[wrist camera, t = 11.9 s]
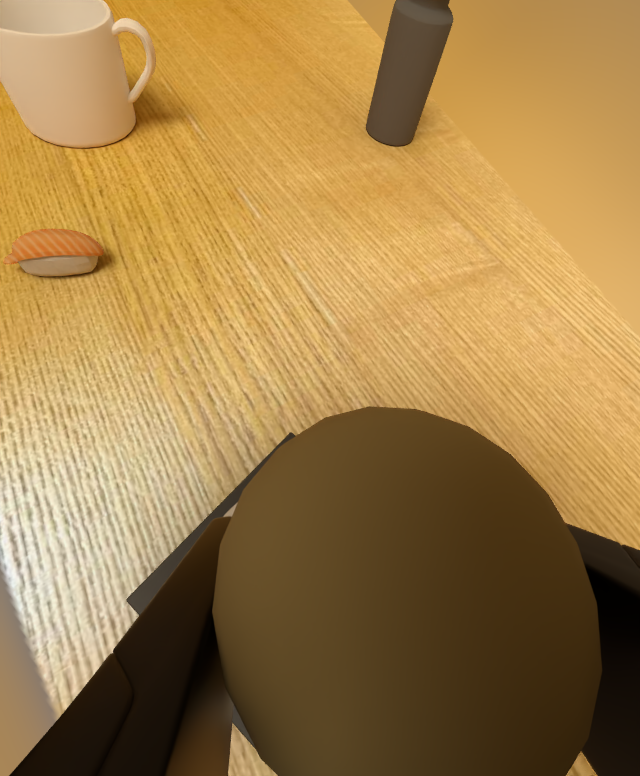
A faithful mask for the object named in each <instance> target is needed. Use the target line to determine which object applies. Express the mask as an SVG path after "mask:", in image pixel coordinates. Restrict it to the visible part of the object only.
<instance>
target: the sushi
mask: <svg viewBox="0 0 640 776" xmlns="http://www.w3.org/2000/svg"><path fill="white" fill-rule="evenodd" d="M103 253H104V252H103V249H102V247H101V246H100V244H99V243H98V242H97V241H95V240H94V239H93V238H91V237H90V236H88V235H86V234H83V233H80V232H77V231H72V230H65V229H42V230H36V231H32V232H28V233H26V234H24V235H22V236H20V237H19V238H18V239H17V240H16V241H15V242H14V243H13V245H12V253H11V254H9V255H8V256H7V257H5V258H4V264H14V263H18V262H19V264H20V266H21V267H22V268H23V270H24V271H25V272H27V273H29V274H32V275H38V276H66V275H74V274H82V273H87V272H91V271H92V270H93V269H94V268H95V267H96V264H97V261H98V256H100V255H103Z"/></svg>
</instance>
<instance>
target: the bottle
mask: <svg viewBox="0 0 640 776" xmlns="http://www.w3.org/2000/svg"><path fill="white" fill-rule="evenodd" d="M448 4H449V0H396V2H395V4H394V7H393V11H392V15H391V19H390V23H389V27H388V32H387V36H386V41H385V45H384V49H383V53H382V58H381V62H380V66H379V71H378V75H377V80H376V84H375V88H374V93H373V97H372V101H371V106H370V110H369V114H368V119H367V124H366V129H367V132H368V133H369V134H370V135H371V136H372V137H373V138H374V139H376V140H378V141H380V142H382V143H385V144H388V145H394V146H402V145H406V144H409V143H410V142H411V141H412V139H413V137H414V134H415V131H416V129H417V126H418V123H419V120H420V117H421V114H422V111H423V108H424V105H425V103H426V100H427V97H428V94H429V91H430V88H431V85H432V82H433V79H434V76H435V74H436V71H437V67H438V65H439V62H440V59H441V56H442V53H443V50H444V47H445V44H446V41H447V38H448V35H449V32H450V29H451V26H452V23H453V15H452V12H451V10H450V8H449V7H448Z"/></svg>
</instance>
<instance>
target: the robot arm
mask: <svg viewBox="0 0 640 776" xmlns="http://www.w3.org/2000/svg"><path fill="white" fill-rule="evenodd" d="M231 517H232V516H227V517H220V518H215V519H213V520H212V521H211V523H210V524H209V525H208V526H207V528H206V529H205V530H204V532H203V533H202V534H201V536H200V537H199V538H198V540H197V541H196V542H195V544H194V545H193V546H192V547H191V549H190V550H189V551H188V553H187V554H186V555H185V557H184V558H183V559H182V561H181V562H180V563H179V564H178V566H177V567H176V568H175V570H174V571H173V572H172V574H171V575H170V576H169V578H168V579H167V580H166V581H165V583H164V584H163V585H162V587H161V588H160V589H159V591H158V592H157V593H156V595H155V596H154V597H153V599H152V600H151V601H150V602H149V604H148V605H147V606H146V608H145V609H144V610H143V612H142V613H141V614H140V616H139V617H138V618H137V619H136V621H135V622H134V623H133V625H132V626H131V627H130V629H129V630H128V631H127V633H126V634H125V635H124V636H123V638H122V639H121V640H120V642H119V643H118V644H117V646H116V647H115V648H114V650H113V653H111V654H110V655H109V656H108V657H107V658H106V660H105V661H104V662H103V664H102V665H101V666H100V668H99V669H98V670H97V672H96V673H95V674H94V675H93V677H92V678H91V679H90V680H89V682H88V683H87V684H86V686H85V687H84V688H83V689H82V691H81V692H80V693H79V694H78V696H77V697H76V698H75V699H74V701H73V702H72V703H71V704H70V706H69V707H68V708H67V709H66V711H65V712H64V713H63V714H62V715H61V717H60V718H59V719H58V720H57V721H56V722H55V724H54V725H53V726H52V727H51V728H50V729H49V730H48V732H47V733H46V734H45V735H44V736H43V738H42V739H41V740H40V741H39V742H38V743H37V744H36V746H35V747H34V748H33V749H32V750H31V751H30V753H29V754H28V755H27V756H26V757H25V758H24V760H23V761H22V762H21V763H20V764H19V765H18V767H16V769H15V770H14V771H13V772H12V773H11V774H10V775H9V776H228V767H229V755H230V743H231V730H232V718H233V706H234V704H233V702H232V700H231V698H230V696H229V694H228V692H227V690H226V688H225V685H224V679H223V673H222V667H221V661H220V655H219V649H218V643H217V637H216V632H215V626H214V620H213V614H212V610H213V601H214V592H215V584H216V575H217V566H218V558H219V549H220V543H221V541H222V539H223V536H224V534H225V532H226V529H227V527H228V524H229V522H230V520H231ZM565 524H566V525H567V527H568V529H569V530H570V532H571V534H572V535H573V537H574V539H575V540H576V542H577V544H578V547H579V550H580V553H581V556H582V559H583V562H584V565H585V569H586V572H587V575H588V578H589V581H590V584H591V587H592V590H593V593H594V596H595V599H596V602H597V610H598V623H599V636H600V649H601V662H602V674H601V679H600V684H599V689H598V693H597V698H596V703H595V708H594V713H593V718H592V723H591V728H590V733H589V738H588V740H587V741H586V743H585V745H584V746H583V748H582V750H581V751H582V753H583V754H584V756H585V757H586V759H587V760H588V762H589V763H590V765H591V766H592V768H593V769H594V771H595V772H596V774H597V775H598V776H640V550H637V549H635V548H632V547H629V546H626V545H620V543H618V542H615V541H613V540H610V539H607V538H605V537H602V536H599V535H597V534H594V533H591V532H589V531H586V530H583V529H581V528H578V527H575V526H572V525H570V524H567V523H565Z"/></svg>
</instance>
